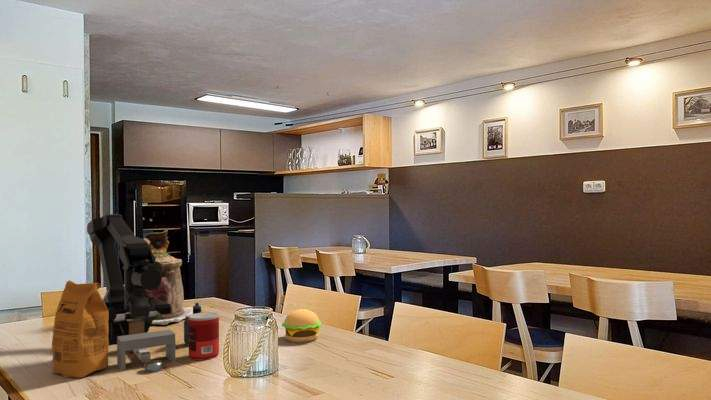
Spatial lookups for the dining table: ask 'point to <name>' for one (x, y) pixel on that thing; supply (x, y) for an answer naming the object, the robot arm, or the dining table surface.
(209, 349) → the canned food
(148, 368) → the steel token
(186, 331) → the vaping device
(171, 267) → the cookie jar
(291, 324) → the hamburger
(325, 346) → the dining table surface
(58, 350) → the coffee package
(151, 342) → the low shelf
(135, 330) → the blade tool
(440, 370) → the dining table surface
